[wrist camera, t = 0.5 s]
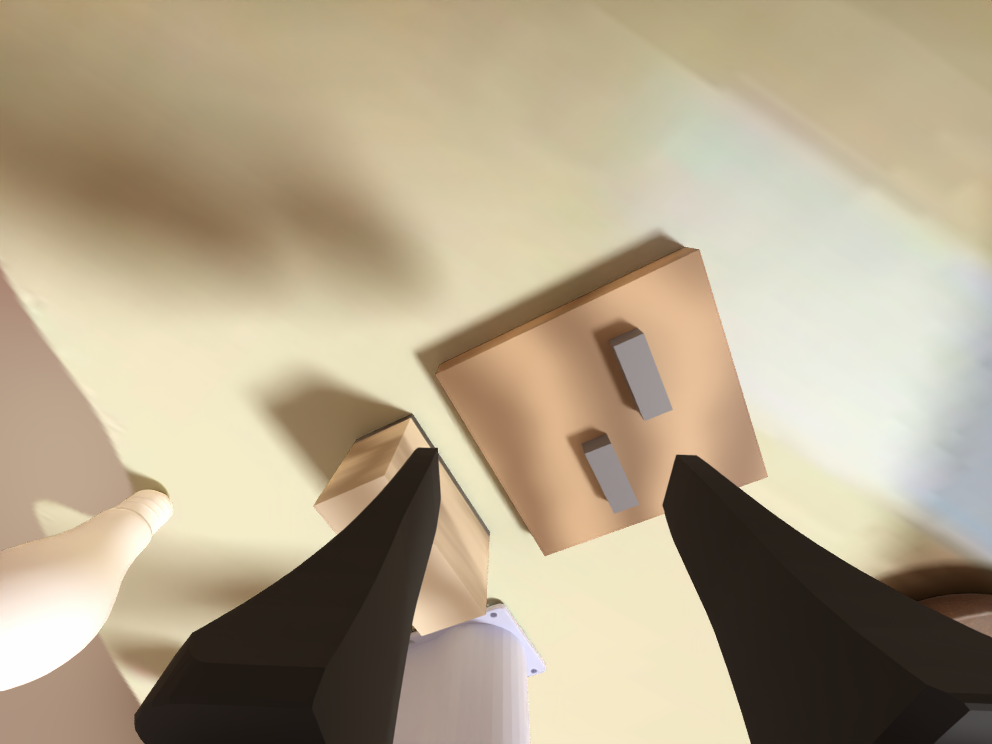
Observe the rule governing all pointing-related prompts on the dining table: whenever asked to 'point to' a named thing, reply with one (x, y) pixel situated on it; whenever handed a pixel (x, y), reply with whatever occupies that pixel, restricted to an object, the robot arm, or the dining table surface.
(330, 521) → the block
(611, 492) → the small gray block
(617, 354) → the grey rectangular block
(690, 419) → the oak board
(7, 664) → the lightbulb
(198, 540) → the dining table surface
